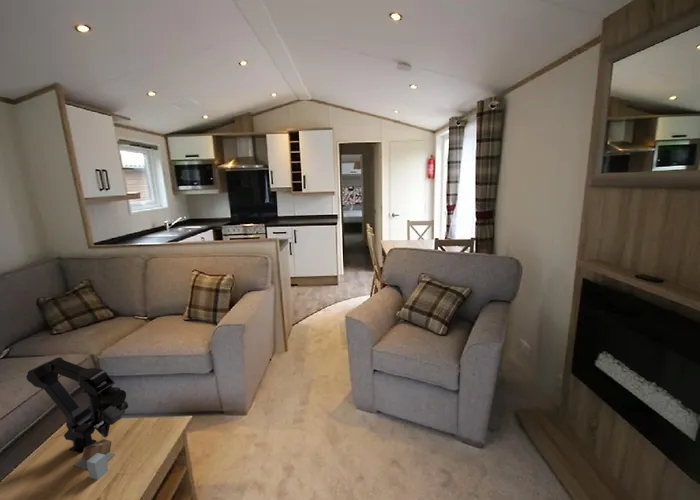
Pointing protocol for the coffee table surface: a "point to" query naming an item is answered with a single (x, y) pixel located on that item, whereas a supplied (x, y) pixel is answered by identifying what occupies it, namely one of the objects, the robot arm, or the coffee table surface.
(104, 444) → the walnut block
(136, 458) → the coffee table surface
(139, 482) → the coffee table surface
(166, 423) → the coffee table surface
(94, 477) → the bluegrey block
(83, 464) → the felt mat
